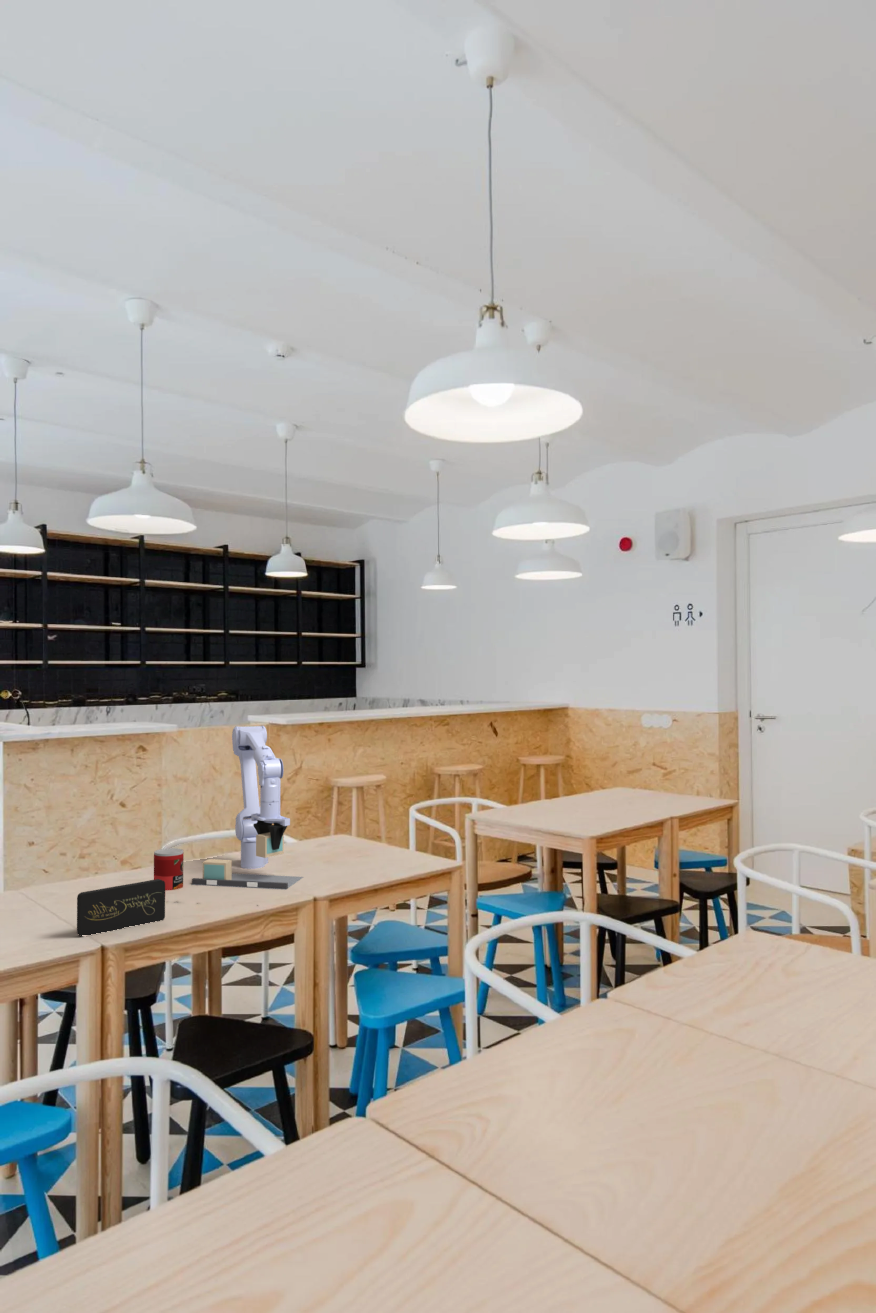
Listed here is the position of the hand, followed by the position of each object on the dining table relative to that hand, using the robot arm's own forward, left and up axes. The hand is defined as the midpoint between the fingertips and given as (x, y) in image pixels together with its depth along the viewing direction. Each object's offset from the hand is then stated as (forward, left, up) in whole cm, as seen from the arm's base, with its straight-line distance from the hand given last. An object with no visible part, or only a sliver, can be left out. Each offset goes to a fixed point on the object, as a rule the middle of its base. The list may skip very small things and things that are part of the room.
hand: (270, 848), depth 256 cm
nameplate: (+48, -19, -10) cm, 53 cm away
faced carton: (+6, -14, -9) cm, 17 cm away
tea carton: (0, 0, -2) cm, 2 cm away
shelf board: (+3, -6, -10) cm, 12 cm away
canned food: (+14, -25, -10) cm, 30 cm away
